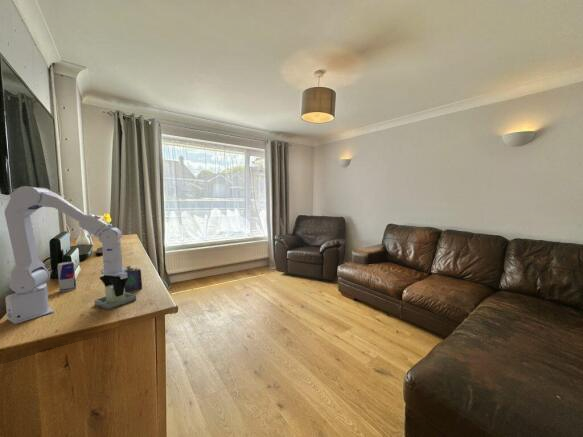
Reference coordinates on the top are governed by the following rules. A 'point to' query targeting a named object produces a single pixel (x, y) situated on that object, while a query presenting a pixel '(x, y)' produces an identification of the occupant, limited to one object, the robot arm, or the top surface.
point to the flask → (133, 279)
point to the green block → (113, 294)
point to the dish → (108, 306)
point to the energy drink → (66, 276)
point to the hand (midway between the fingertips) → (115, 294)
